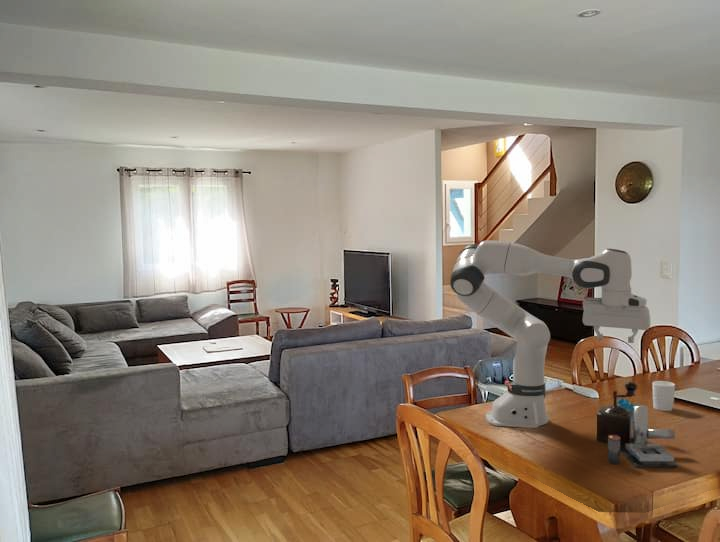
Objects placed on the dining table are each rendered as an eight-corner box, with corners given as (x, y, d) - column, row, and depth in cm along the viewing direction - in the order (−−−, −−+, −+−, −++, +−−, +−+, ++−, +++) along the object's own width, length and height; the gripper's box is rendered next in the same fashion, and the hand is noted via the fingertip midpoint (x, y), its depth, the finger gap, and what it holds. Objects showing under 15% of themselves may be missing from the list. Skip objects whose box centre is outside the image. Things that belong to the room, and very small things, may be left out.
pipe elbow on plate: (635, 467, 178) (636, 419, 176) (615, 447, 193) (616, 402, 192) (691, 467, 177) (692, 419, 176) (666, 447, 193) (667, 402, 191)
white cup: (652, 410, 230) (653, 385, 230) (650, 404, 238) (651, 380, 237) (675, 412, 227) (676, 387, 227) (673, 406, 235) (673, 381, 234)
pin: (610, 464, 180) (610, 438, 180) (606, 459, 184) (606, 434, 183) (621, 464, 180) (622, 438, 179) (617, 460, 183) (617, 434, 183)
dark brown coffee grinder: (631, 447, 194) (633, 392, 192) (595, 441, 199) (596, 388, 198) (637, 432, 207) (638, 381, 206) (603, 427, 213) (603, 377, 211)
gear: (631, 422, 213) (615, 397, 219) (619, 430, 216) (604, 406, 222) (648, 420, 219) (632, 396, 225) (636, 428, 222) (621, 405, 228)
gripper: (580, 298, 196) (579, 339, 198) (648, 301, 185) (647, 345, 186) (585, 296, 202) (584, 336, 203) (651, 299, 190) (650, 342, 191)
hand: (615, 341), depth 194 cm, fingers open, 8 cm apart
